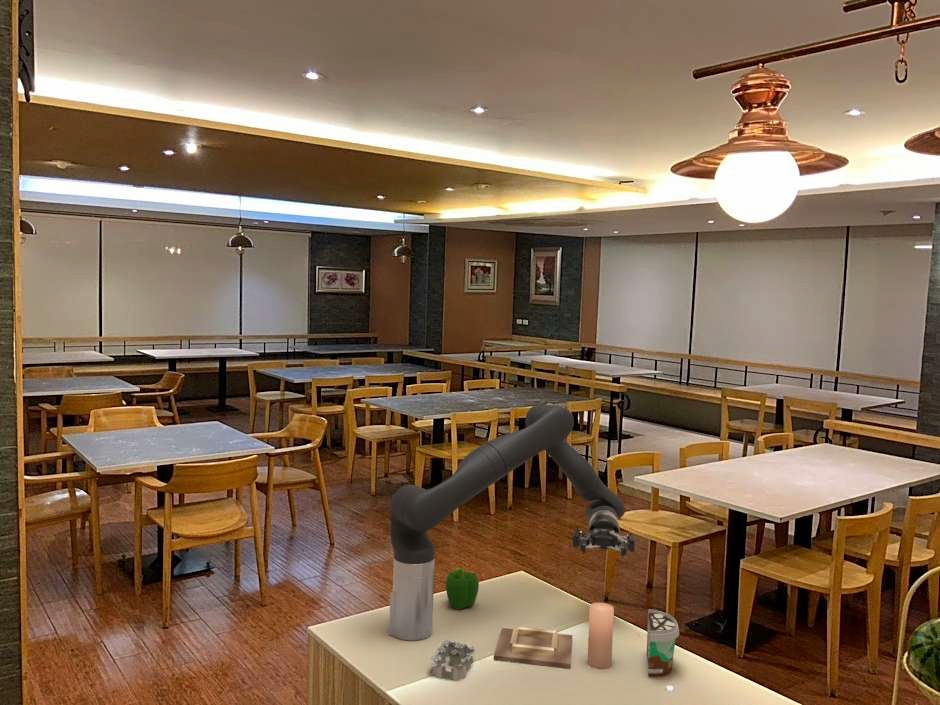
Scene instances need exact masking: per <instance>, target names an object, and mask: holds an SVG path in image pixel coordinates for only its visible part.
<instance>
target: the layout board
mask: <svg viewBox="0 0 940 705" xmlns="http://www.w3.org/2000/svg"><path fill="white" fill-rule="evenodd" d="M572 646H573V635H572V634H567V633H566V634H565V633H558V632H557V630H555V629H554V630H552V629H551V630H550V629H543V628H533V627H532V628H531V627H524V626H516V628H507V627H502V628H501V629H500V633H499V636H498V640H497V644H496V647H495V650H494V654H493V661H498V660H500V661H499V662H507V661H510V663H515V662H519V663H518V664H524V663H526V664H525V665H533V664H534V666H535V665H536V666H542V667H544V666H545V667H553V668H562V669H569V670H570V669H571V664H572V663H571V661H572V648H573V647H572Z"/></svg>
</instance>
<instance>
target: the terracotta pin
mask: <svg viewBox="0 0 940 705" xmlns="http://www.w3.org/2000/svg"><path fill="white" fill-rule="evenodd" d="M614 609H615V607H614V606H613V605H611V604H610V603H605V602H593V603H590V604H589V615H588V616H589V617H588V638H587V639H588V640H587V664H588V665H589V666H590V667H591V668H595V669H599V670H603V669H608V668H611V666H612V662H613V661H612V660H613V659H612V658H613V640H614V639H613V636H614V634H613V633H614V616H615V615H614V612H615V610H614Z"/></svg>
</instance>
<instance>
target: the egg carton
mask: <svg viewBox="0 0 940 705" xmlns="http://www.w3.org/2000/svg"><path fill="white" fill-rule="evenodd" d="M475 650H476V649H475V646H473V645H472V646H471V647H470V646H468V645H467V644H466V643H464V644H463V643H461V642H457V641H452V640H451V641H450V640H449V639H446V638H445V639H444V640H443V641H442V643H441V645H440V646H439V647H438V648H437V650H436V651H435V652H434V654H433V655H432V656H431V657H430V663H431V666H432V675H435V676H436V678H438V679H442V678H444V677H450V678H452V680H453V681H457V682H458V681H459V680H463V679H465V678H466V677H467V676H466V675H467V672H469V670H470V666H471V664H473V662H474V654H475V653H476V651H475ZM446 657H449V665H450V666H446V665H443V664H445V663H446Z"/></svg>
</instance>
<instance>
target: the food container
mask: <svg viewBox="0 0 940 705" xmlns="http://www.w3.org/2000/svg"><path fill="white" fill-rule="evenodd" d="M646 633H647V634H646V665H647V666H646V667H647V677H648V678H650V677H651V678H657V677H658V678H660V677H664V676H665V677H666V676H669V674H671V673H672V670H673V661H674V655H675V644H676V639H677V638H678V637H679V636H680V629H679V625H678V622H677V620H676V618H674V617H673V615H671V614H668V613H666V612H663V611H660V610H657V609H650V608H648V610H647V631H646Z"/></svg>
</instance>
